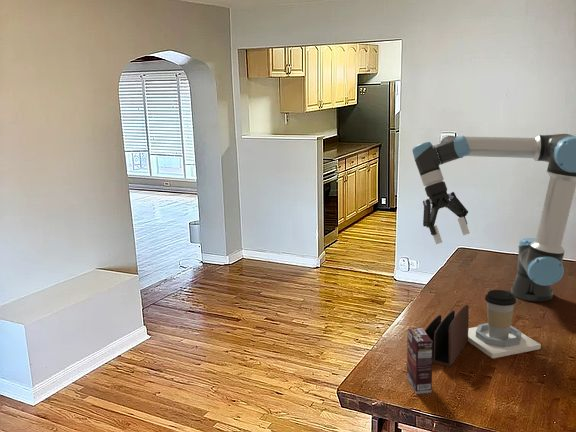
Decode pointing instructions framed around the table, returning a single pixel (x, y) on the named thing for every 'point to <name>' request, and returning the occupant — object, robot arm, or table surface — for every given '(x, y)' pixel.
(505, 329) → the coffee cup
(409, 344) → the supplement box
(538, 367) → the table surface
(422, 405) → the table surface
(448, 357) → the letter holder
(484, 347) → the dock board
